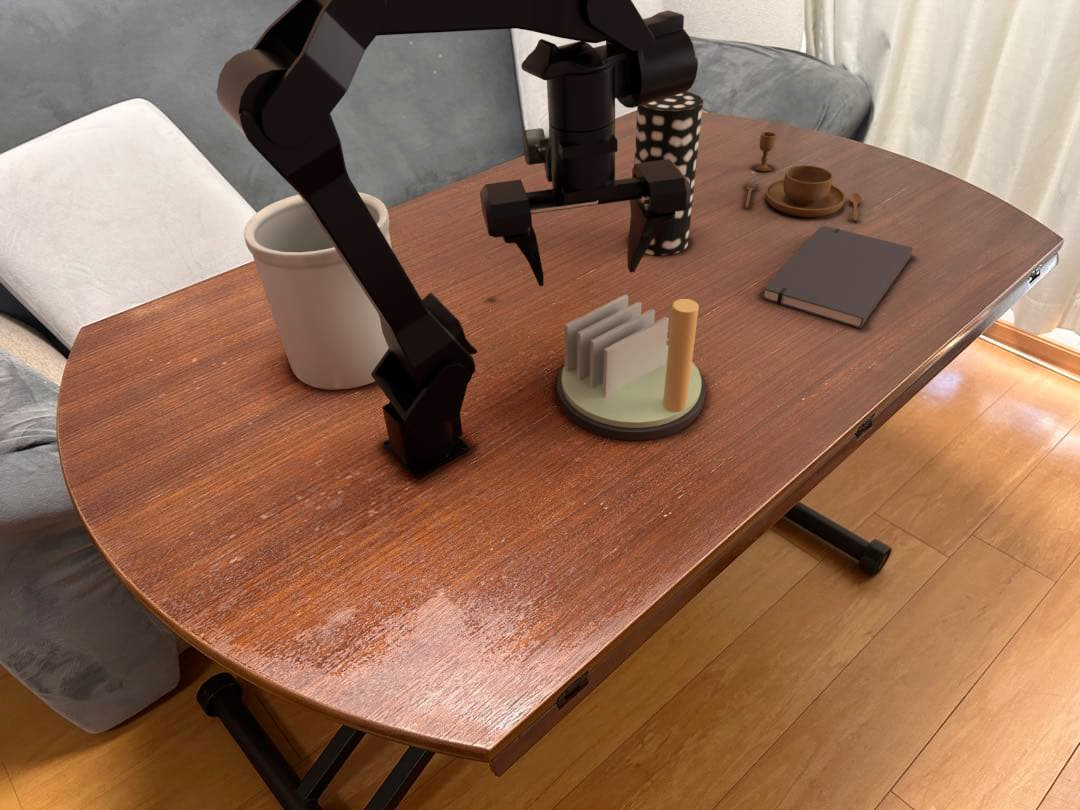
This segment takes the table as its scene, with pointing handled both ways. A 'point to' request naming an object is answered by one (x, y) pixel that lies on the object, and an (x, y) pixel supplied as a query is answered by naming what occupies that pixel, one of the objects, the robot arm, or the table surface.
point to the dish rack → (632, 364)
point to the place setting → (801, 188)
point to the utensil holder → (316, 295)
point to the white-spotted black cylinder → (671, 156)
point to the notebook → (838, 275)
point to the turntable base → (629, 433)
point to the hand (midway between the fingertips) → (586, 277)
